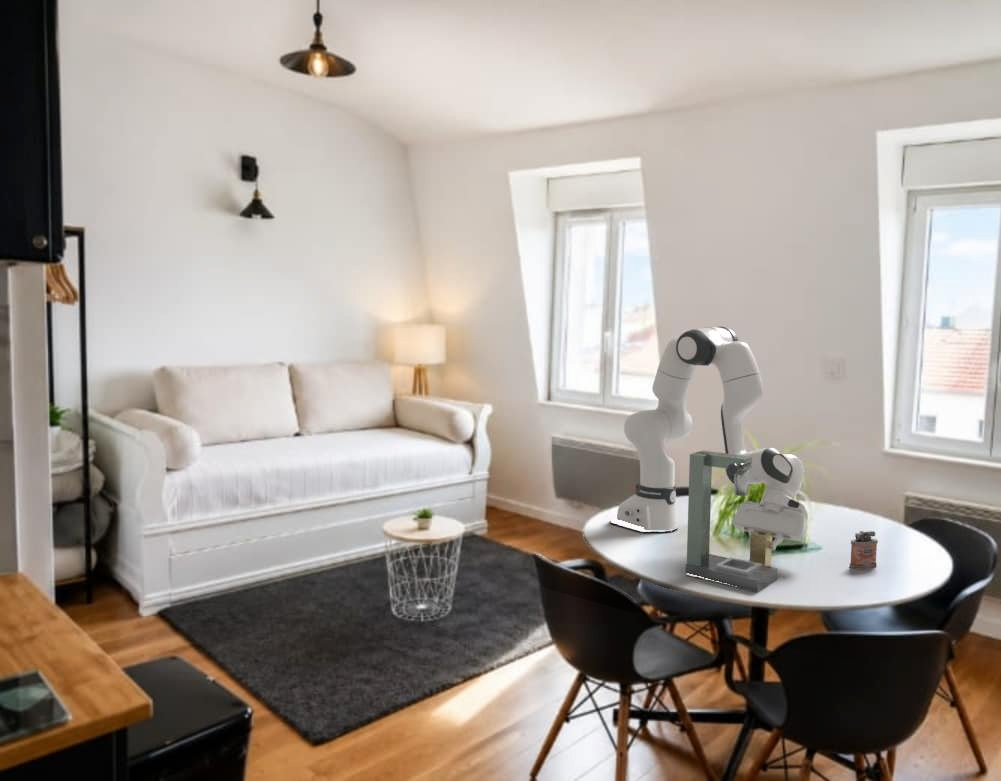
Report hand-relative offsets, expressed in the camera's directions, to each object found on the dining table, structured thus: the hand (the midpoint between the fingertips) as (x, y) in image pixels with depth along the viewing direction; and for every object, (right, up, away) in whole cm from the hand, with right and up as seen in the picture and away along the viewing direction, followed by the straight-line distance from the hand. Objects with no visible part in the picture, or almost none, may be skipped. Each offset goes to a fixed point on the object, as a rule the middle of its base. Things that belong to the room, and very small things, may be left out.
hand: (761, 546), depth 225 cm
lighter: (+28, -6, 0) cm, 29 cm away
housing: (0, -5, 0) cm, 5 cm away
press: (-13, -7, -12) cm, 19 cm away
